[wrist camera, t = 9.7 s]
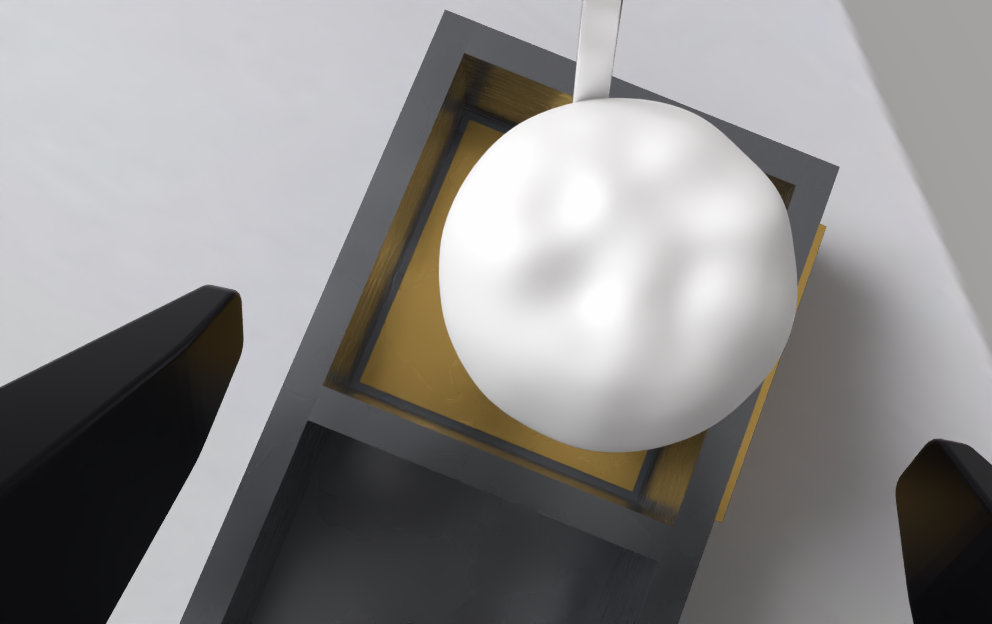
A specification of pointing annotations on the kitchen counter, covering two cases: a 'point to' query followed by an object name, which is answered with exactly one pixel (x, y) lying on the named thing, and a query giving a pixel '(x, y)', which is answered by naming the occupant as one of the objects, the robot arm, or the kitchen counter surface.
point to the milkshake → (617, 266)
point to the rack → (465, 413)
